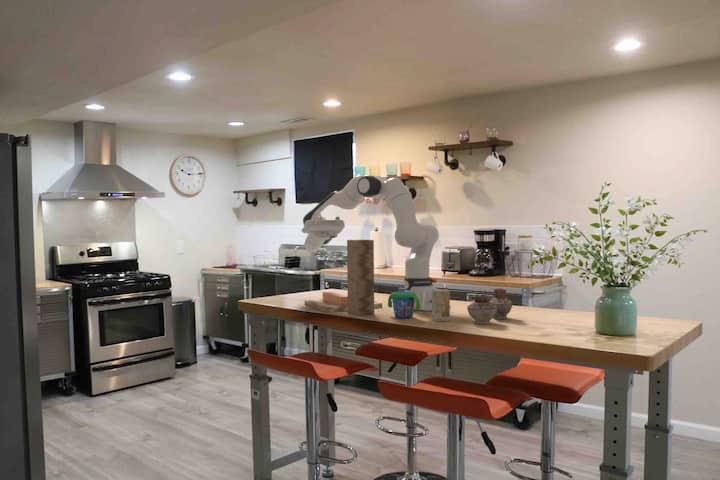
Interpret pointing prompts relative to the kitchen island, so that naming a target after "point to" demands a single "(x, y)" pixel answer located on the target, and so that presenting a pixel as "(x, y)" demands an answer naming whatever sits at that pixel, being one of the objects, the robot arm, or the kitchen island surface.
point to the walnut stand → (360, 276)
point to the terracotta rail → (335, 298)
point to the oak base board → (331, 305)
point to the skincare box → (440, 305)
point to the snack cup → (403, 303)
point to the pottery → (490, 307)
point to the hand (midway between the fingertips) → (329, 217)
